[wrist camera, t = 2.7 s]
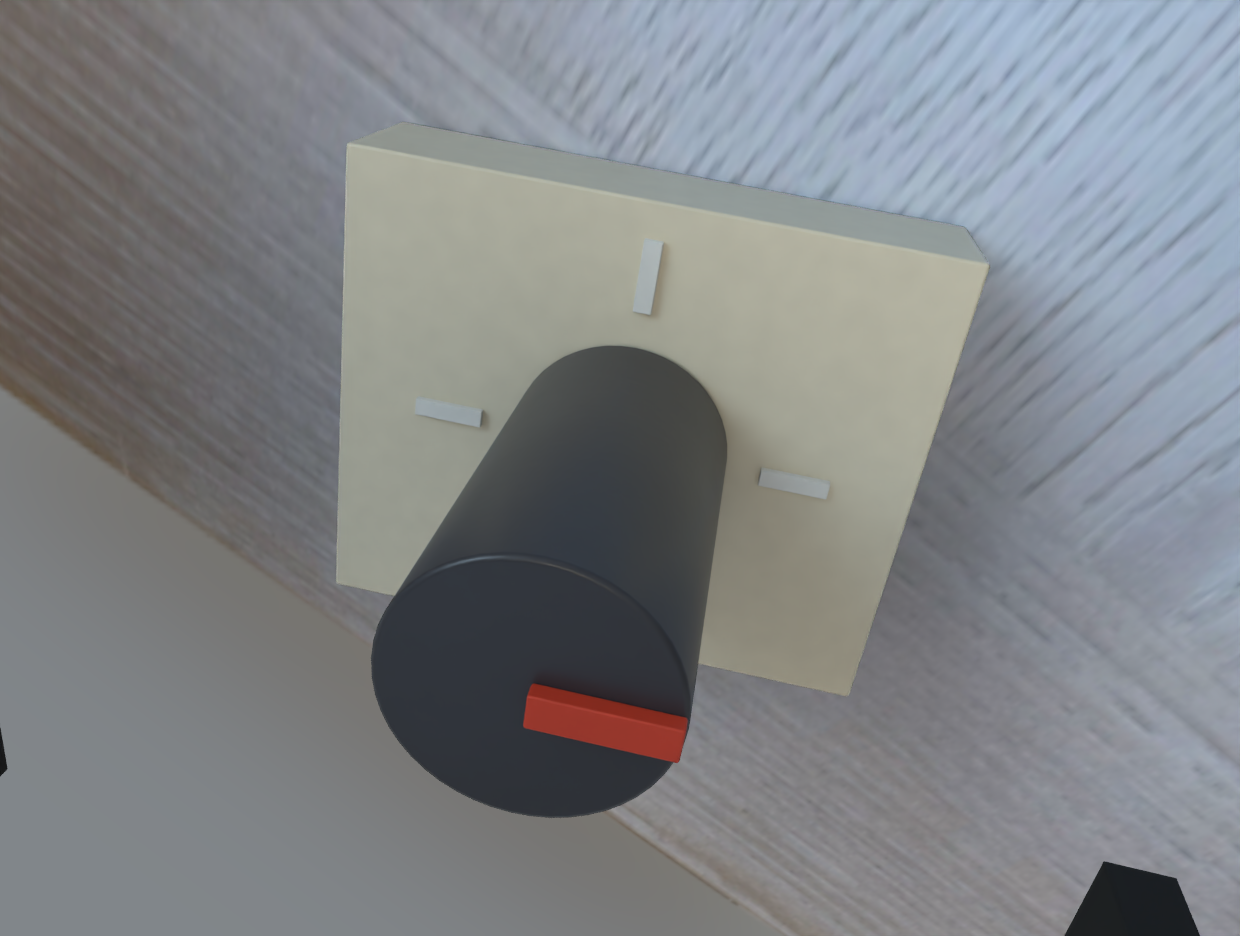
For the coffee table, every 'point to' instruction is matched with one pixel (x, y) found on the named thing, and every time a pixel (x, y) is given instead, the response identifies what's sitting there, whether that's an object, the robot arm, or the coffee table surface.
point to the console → (665, 325)
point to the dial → (564, 594)
